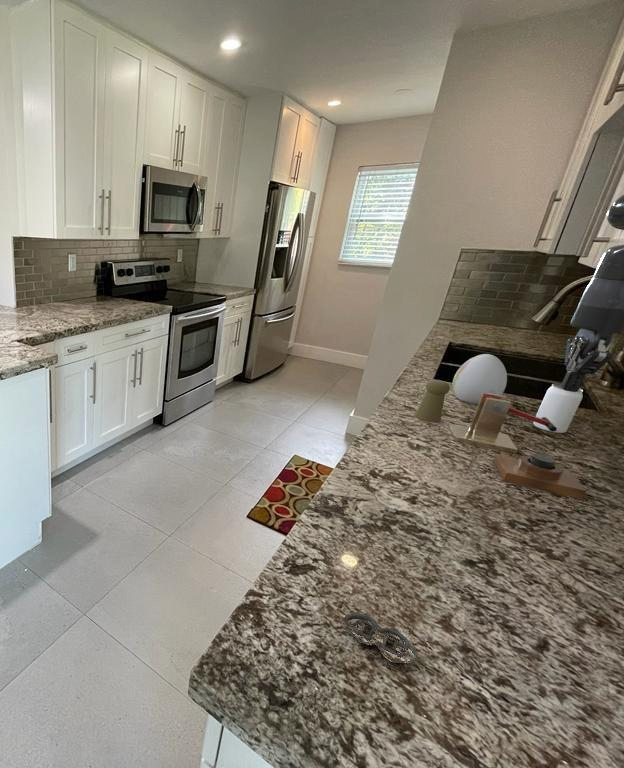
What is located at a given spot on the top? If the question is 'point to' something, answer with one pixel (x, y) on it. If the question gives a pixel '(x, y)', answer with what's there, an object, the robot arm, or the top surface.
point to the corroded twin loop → (381, 630)
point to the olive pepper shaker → (433, 401)
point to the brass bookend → (486, 425)
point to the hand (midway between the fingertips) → (568, 390)
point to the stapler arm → (532, 418)
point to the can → (558, 408)
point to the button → (542, 461)
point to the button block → (538, 476)
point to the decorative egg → (479, 378)
